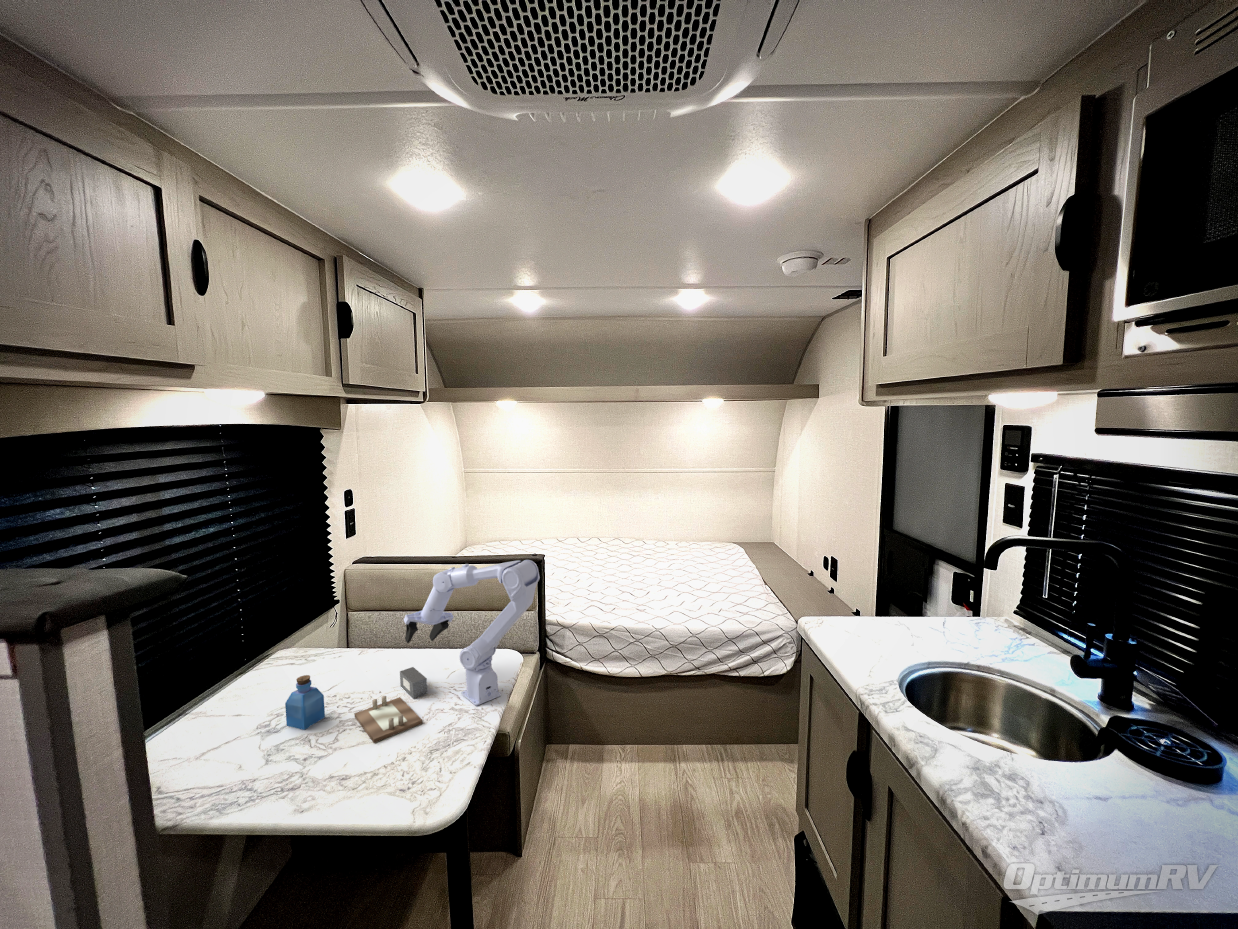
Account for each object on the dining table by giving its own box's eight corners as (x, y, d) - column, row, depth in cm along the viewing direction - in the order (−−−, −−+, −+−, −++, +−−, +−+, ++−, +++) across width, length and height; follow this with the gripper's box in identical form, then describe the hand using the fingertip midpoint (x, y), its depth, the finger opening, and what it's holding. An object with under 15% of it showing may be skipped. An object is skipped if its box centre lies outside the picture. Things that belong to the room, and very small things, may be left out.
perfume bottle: (304, 730, 132) (301, 685, 131) (286, 726, 134) (283, 681, 133) (325, 717, 138) (322, 674, 137) (307, 713, 140) (305, 671, 139)
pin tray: (422, 723, 134) (421, 710, 133) (373, 743, 126) (373, 729, 125) (400, 700, 145) (399, 688, 145) (354, 717, 137) (353, 704, 137)
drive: (427, 694, 149) (426, 678, 148) (413, 699, 146) (412, 683, 146) (413, 682, 156) (413, 666, 156) (400, 687, 153) (399, 671, 153)
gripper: (453, 595, 159) (437, 628, 162) (408, 595, 149) (391, 631, 152) (461, 610, 155) (444, 644, 158) (415, 612, 144) (398, 649, 148)
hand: (419, 639), depth 155 cm, fingers open, 7 cm apart
